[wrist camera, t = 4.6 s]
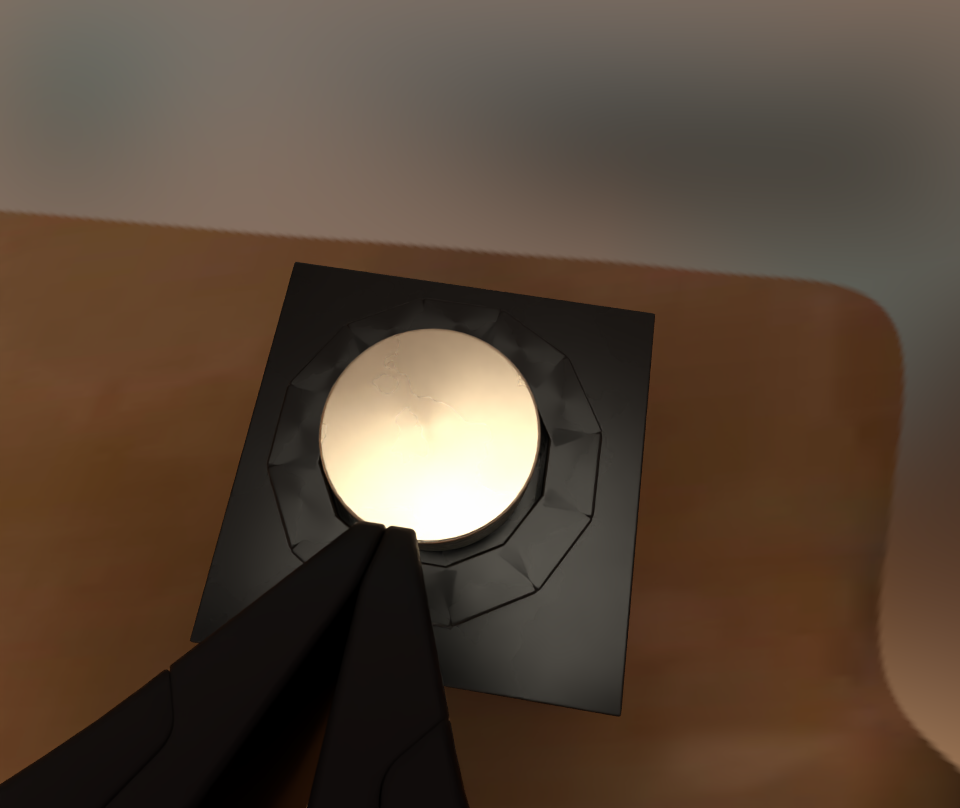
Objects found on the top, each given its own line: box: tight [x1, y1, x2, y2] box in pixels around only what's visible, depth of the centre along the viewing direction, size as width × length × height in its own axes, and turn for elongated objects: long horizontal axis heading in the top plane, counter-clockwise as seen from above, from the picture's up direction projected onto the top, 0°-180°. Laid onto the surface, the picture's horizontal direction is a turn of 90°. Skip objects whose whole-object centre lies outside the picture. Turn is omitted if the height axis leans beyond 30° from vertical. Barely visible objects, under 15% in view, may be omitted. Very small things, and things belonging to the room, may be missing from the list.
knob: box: [319, 329, 541, 551], centre depth 13 cm, size 4×4×2 cm
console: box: [190, 262, 655, 717], centre depth 17 cm, size 10×10×8 cm
